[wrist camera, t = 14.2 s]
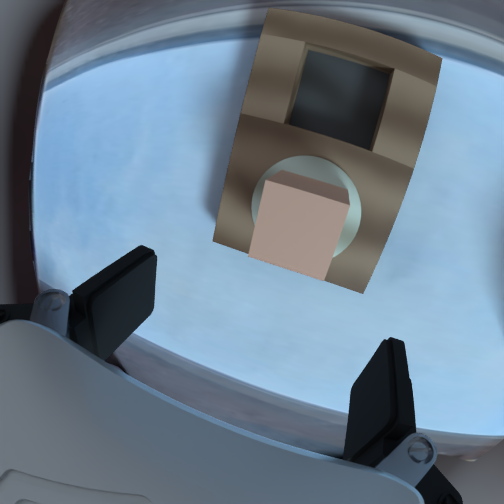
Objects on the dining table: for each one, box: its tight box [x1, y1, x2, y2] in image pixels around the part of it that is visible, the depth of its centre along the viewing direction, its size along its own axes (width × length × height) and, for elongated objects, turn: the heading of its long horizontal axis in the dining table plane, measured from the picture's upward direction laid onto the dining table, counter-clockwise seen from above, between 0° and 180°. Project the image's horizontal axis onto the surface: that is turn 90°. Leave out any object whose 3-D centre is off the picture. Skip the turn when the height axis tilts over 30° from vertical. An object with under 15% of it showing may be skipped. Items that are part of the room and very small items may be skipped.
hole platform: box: [213, 8, 442, 294], centre depth 25 cm, size 24×16×3 cm, turn 166°
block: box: [248, 170, 350, 281], centre depth 24 cm, size 6×6×6 cm
